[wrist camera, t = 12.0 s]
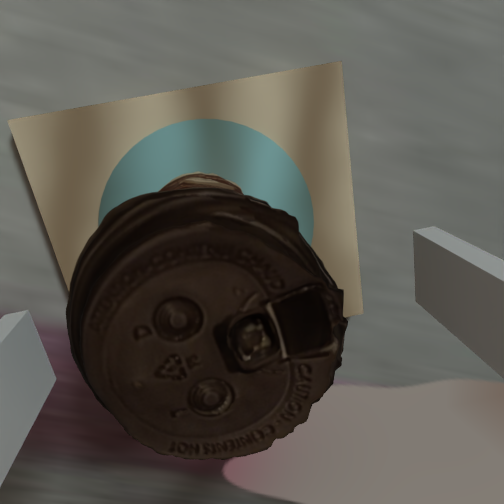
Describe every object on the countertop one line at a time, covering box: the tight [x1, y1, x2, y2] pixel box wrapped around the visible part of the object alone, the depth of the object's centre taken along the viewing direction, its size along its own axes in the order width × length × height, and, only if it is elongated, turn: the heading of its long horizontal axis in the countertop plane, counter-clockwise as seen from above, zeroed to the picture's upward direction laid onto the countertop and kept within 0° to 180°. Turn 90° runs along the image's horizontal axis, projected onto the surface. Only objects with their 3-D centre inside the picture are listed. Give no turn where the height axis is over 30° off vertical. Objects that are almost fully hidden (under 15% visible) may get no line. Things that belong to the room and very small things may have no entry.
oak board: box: [7, 61, 363, 317], centre depth 24 cm, size 17×15×1 cm
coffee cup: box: [66, 171, 348, 460], centre depth 17 cm, size 9×8×13 cm
